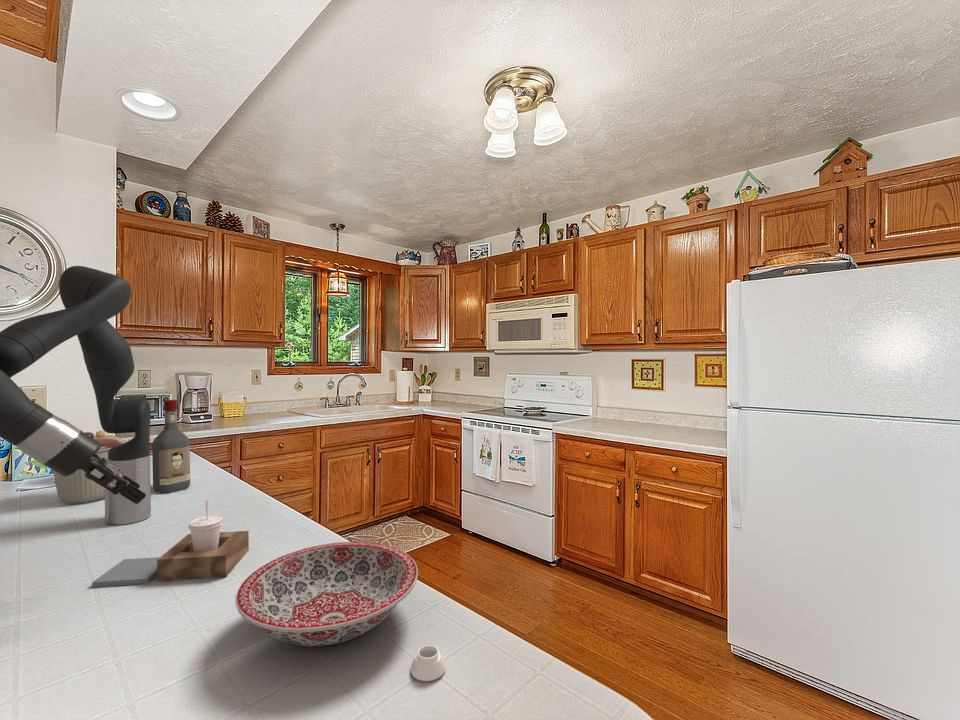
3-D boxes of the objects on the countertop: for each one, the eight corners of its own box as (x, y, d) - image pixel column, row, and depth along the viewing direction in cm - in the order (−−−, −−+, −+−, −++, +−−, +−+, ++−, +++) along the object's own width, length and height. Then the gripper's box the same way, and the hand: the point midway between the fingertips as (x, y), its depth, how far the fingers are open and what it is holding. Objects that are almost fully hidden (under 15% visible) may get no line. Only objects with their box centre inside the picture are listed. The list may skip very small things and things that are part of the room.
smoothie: (229, 558, 103) (228, 496, 102) (210, 572, 96) (209, 506, 96) (202, 557, 103) (202, 495, 103) (181, 571, 97) (180, 505, 97)
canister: (134, 496, 147) (133, 430, 146) (60, 513, 132) (58, 440, 131) (111, 487, 157) (109, 425, 156) (39, 501, 141) (38, 433, 141)
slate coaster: (92, 587, 90) (92, 582, 90) (124, 563, 100) (124, 559, 100) (147, 583, 92) (147, 578, 92) (173, 560, 102) (173, 556, 102)
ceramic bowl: (191, 657, 70) (190, 605, 70) (319, 570, 97) (319, 533, 97) (352, 708, 60) (352, 648, 59) (445, 595, 87) (445, 554, 87)
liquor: (150, 490, 153) (149, 400, 152) (180, 483, 160) (179, 398, 160) (162, 495, 148) (160, 402, 147) (192, 488, 155) (191, 399, 155)
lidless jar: (409, 685, 64) (445, 682, 64) (409, 664, 64) (445, 662, 64) (412, 660, 69) (445, 659, 69) (412, 641, 69) (445, 639, 69)
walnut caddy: (157, 581, 92) (156, 559, 92) (188, 553, 105) (188, 534, 105) (226, 577, 94) (225, 555, 94) (248, 549, 107) (248, 530, 107)
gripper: (80, 434, 80) (161, 486, 88) (77, 424, 90) (149, 472, 98) (39, 469, 76) (126, 520, 84) (40, 455, 87) (118, 502, 95)
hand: (138, 494), depth 91 cm, fingers open, 8 cm apart
